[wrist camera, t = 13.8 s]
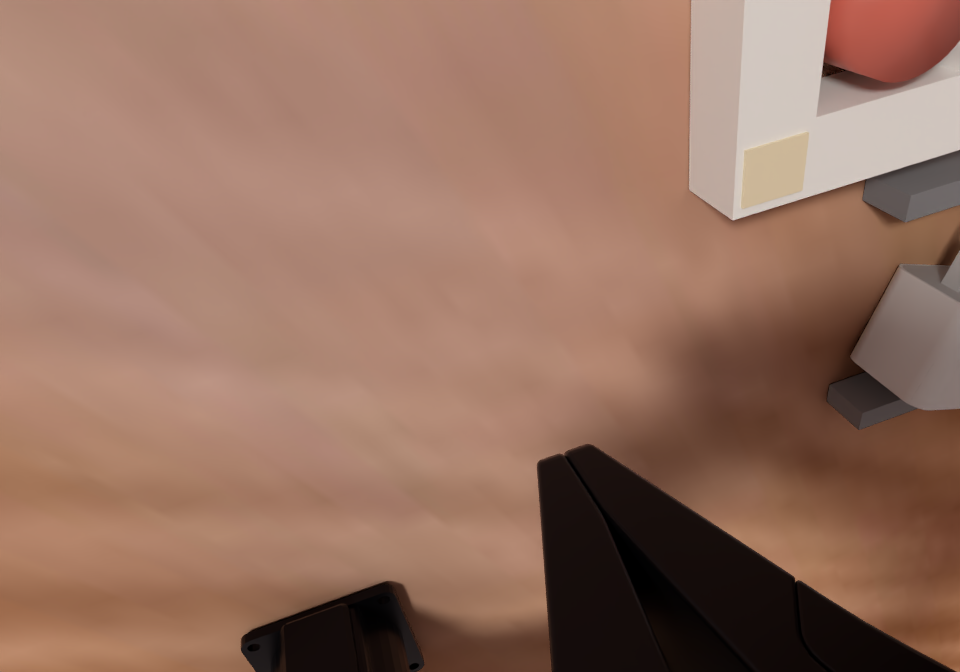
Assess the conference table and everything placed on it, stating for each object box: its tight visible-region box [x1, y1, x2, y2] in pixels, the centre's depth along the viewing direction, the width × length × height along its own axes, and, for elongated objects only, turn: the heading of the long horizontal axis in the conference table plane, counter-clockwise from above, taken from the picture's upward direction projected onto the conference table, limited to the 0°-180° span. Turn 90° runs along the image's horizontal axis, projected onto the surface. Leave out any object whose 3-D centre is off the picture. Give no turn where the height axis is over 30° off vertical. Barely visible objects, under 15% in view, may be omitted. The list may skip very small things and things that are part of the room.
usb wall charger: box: [851, 251, 960, 410], centre depth 27 cm, size 4×7×4 cm, turn 169°
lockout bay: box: [827, 150, 960, 430], centre depth 27 cm, size 11×7×2 cm, turn 10°
